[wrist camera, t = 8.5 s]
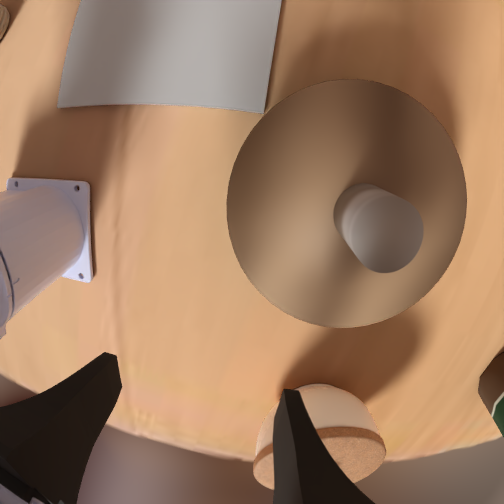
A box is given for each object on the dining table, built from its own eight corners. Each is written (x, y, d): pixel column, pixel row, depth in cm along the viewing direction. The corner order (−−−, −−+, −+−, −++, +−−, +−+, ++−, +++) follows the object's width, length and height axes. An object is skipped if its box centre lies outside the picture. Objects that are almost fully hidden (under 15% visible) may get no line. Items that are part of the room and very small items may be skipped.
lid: (223, 312, 17) (212, 362, 13) (237, 67, 12) (227, 39, 8) (427, 321, 17) (456, 362, 13) (470, 116, 12) (520, 116, 8)
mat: (61, 108, 17) (57, 107, 16) (104, -49, 12) (101, -52, 11) (263, 113, 17) (263, 112, 16) (292, -60, 12) (292, -64, 11)
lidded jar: (244, 426, 27) (238, 503, 18) (275, 354, 23) (278, 451, 15) (337, 437, 28) (349, 506, 19) (386, 372, 24) (417, 452, 15)
